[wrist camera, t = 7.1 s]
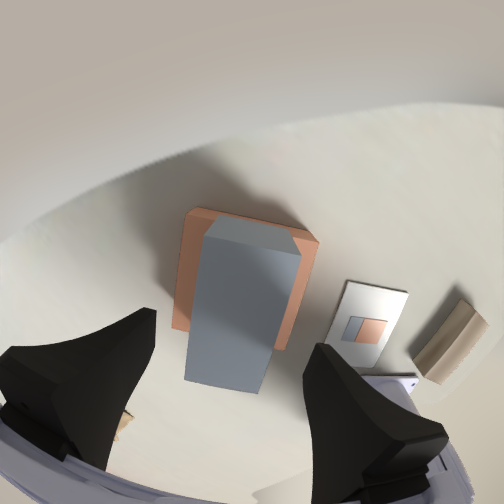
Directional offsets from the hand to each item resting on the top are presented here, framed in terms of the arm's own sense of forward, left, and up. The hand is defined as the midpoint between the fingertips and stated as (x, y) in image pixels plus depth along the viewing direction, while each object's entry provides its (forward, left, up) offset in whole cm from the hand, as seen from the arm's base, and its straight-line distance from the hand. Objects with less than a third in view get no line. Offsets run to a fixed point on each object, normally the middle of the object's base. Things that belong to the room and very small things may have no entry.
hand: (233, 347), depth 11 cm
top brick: (0, 0, -6) cm, 6 cm away
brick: (-3, -22, -9) cm, 24 cm away
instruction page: (-3, -11, -9) cm, 14 cm away
